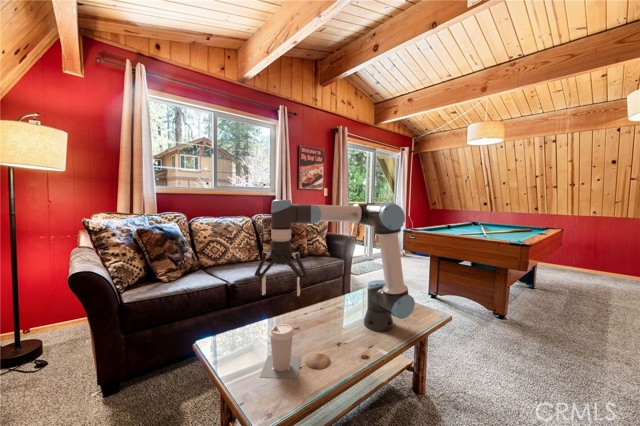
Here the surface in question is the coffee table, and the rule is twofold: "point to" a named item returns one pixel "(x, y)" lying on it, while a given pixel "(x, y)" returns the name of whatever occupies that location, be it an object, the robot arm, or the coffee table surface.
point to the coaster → (317, 361)
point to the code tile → (289, 373)
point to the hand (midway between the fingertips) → (281, 294)
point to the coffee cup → (281, 346)
